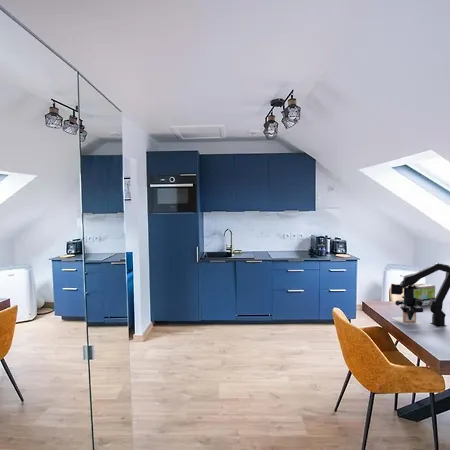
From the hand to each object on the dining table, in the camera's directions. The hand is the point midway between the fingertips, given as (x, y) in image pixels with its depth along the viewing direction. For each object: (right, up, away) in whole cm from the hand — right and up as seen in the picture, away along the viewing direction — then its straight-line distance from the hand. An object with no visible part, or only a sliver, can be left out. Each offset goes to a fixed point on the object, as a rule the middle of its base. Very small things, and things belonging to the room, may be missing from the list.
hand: (408, 319), depth 203 cm
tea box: (+35, 0, +41) cm, 54 cm away
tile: (0, -1, 0) cm, 2 cm away
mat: (0, -2, +2) cm, 3 cm away
